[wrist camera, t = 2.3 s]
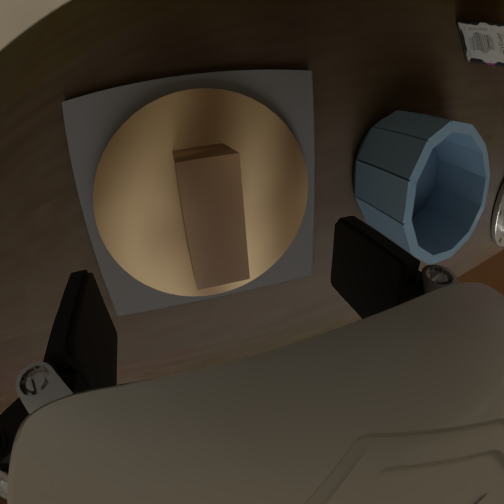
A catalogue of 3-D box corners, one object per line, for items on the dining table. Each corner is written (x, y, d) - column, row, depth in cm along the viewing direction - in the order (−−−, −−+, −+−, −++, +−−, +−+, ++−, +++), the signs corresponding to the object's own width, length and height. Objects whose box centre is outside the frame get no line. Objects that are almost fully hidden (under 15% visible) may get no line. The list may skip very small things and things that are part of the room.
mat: (307, 71, 17) (312, 70, 17) (308, 271, 25) (311, 275, 25) (64, 102, 14) (61, 102, 13) (118, 311, 22) (118, 316, 21)
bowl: (440, 115, 22) (495, 129, 16) (429, 220, 27) (474, 248, 22) (350, 106, 19) (412, 114, 14) (345, 237, 25) (392, 277, 19)
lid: (298, 83, 17) (339, 80, 13) (301, 267, 24) (331, 303, 20) (78, 113, 14) (50, 116, 10) (126, 304, 21) (123, 351, 17)
